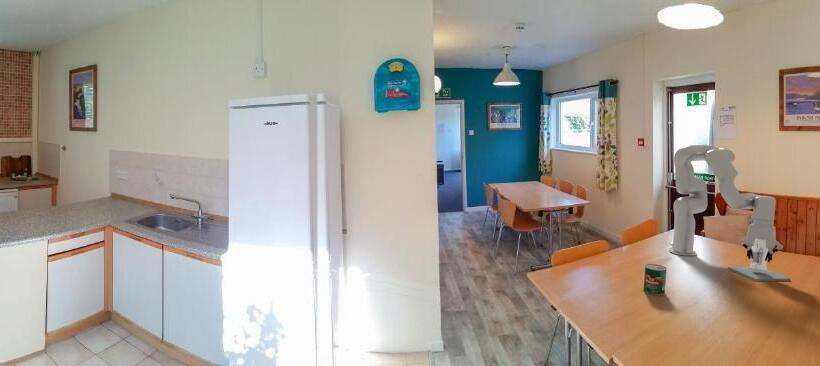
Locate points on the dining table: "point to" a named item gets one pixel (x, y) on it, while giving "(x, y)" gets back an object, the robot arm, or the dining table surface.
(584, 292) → the dining table surface
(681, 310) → the dining table surface
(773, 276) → the grey mat
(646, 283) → the canned tomato
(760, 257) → the beer glass
